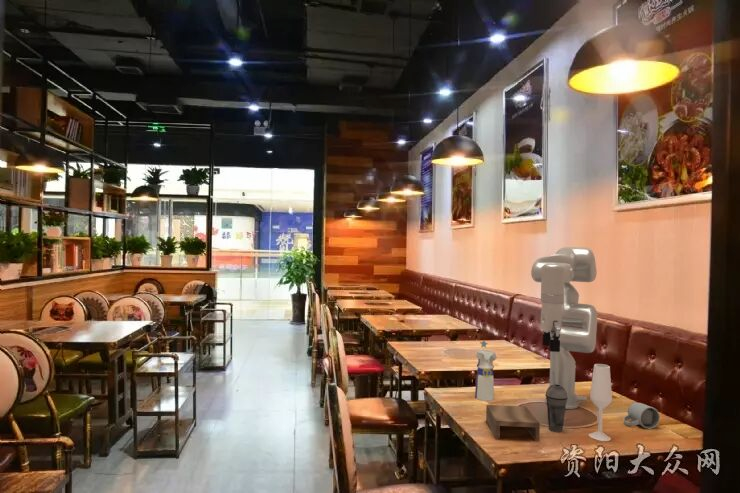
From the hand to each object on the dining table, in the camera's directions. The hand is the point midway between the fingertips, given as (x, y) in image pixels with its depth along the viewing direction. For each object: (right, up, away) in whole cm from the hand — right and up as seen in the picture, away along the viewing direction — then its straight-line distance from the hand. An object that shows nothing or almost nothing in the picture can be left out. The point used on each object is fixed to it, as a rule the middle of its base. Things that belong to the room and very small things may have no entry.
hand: (550, 348), depth 166 cm
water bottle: (-15, -28, +33) cm, 46 cm away
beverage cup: (+2, -29, 0) cm, 28 cm away
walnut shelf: (-14, -28, -2) cm, 31 cm away
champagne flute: (+14, -29, -6) cm, 33 cm away
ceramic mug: (+35, -30, +7) cm, 46 cm away
